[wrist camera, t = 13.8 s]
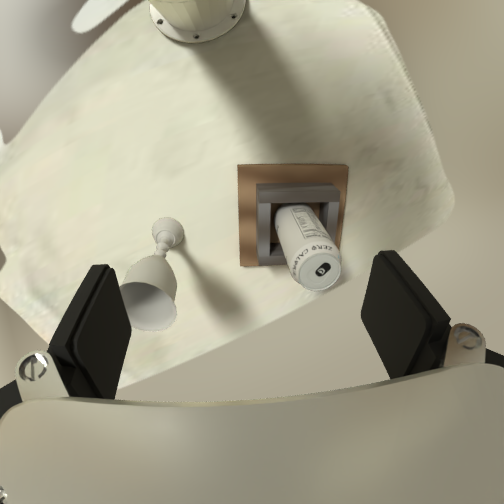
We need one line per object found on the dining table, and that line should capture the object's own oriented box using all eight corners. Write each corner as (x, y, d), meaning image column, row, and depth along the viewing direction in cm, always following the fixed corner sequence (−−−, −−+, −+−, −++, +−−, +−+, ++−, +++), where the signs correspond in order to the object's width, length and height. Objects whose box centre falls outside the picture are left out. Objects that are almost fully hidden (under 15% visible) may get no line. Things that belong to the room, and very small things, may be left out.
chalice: (198, 224, 47) (187, 300, 31) (179, 258, 49) (163, 340, 34) (155, 203, 44) (121, 270, 29) (138, 239, 47) (105, 315, 31)
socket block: (237, 164, 42) (239, 174, 38) (345, 164, 44) (359, 174, 39) (240, 262, 50) (241, 280, 46) (334, 257, 52) (344, 274, 47)
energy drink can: (264, 219, 46) (281, 277, 33) (292, 189, 44) (321, 238, 31) (293, 242, 48) (318, 303, 35) (320, 214, 46) (356, 268, 33)
